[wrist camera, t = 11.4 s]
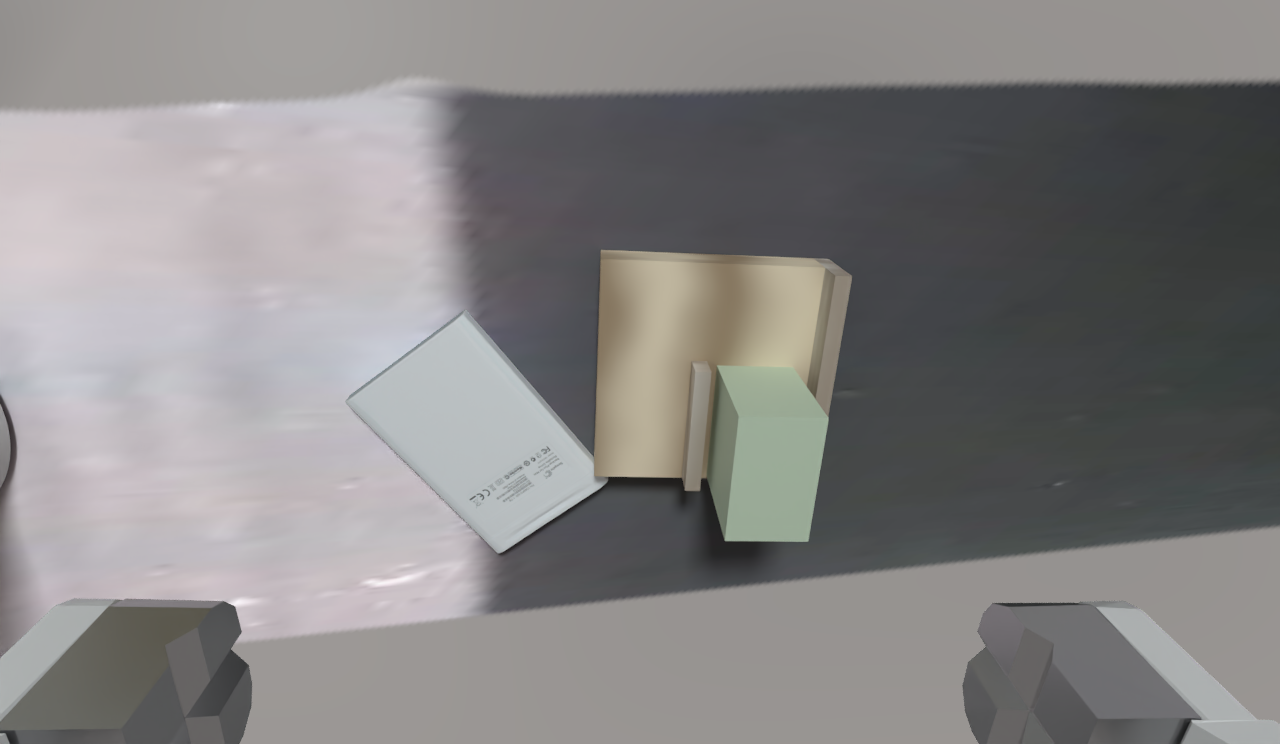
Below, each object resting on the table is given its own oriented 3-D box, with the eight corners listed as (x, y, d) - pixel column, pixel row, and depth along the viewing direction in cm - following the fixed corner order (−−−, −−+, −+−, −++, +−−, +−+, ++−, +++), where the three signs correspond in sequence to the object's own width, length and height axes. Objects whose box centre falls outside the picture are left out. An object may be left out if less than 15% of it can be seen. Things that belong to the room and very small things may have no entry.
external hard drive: (467, 305, 37) (608, 469, 41) (352, 391, 38) (500, 541, 42) (462, 315, 35) (609, 484, 39) (342, 403, 37) (496, 557, 41)
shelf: (594, 458, 40) (593, 492, 36) (600, 249, 35) (600, 267, 32) (798, 461, 41) (816, 495, 37) (830, 258, 36) (854, 276, 33)
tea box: (706, 475, 38) (724, 541, 33) (716, 365, 36) (738, 416, 30) (780, 476, 39) (811, 541, 33) (795, 367, 36) (832, 418, 31)
